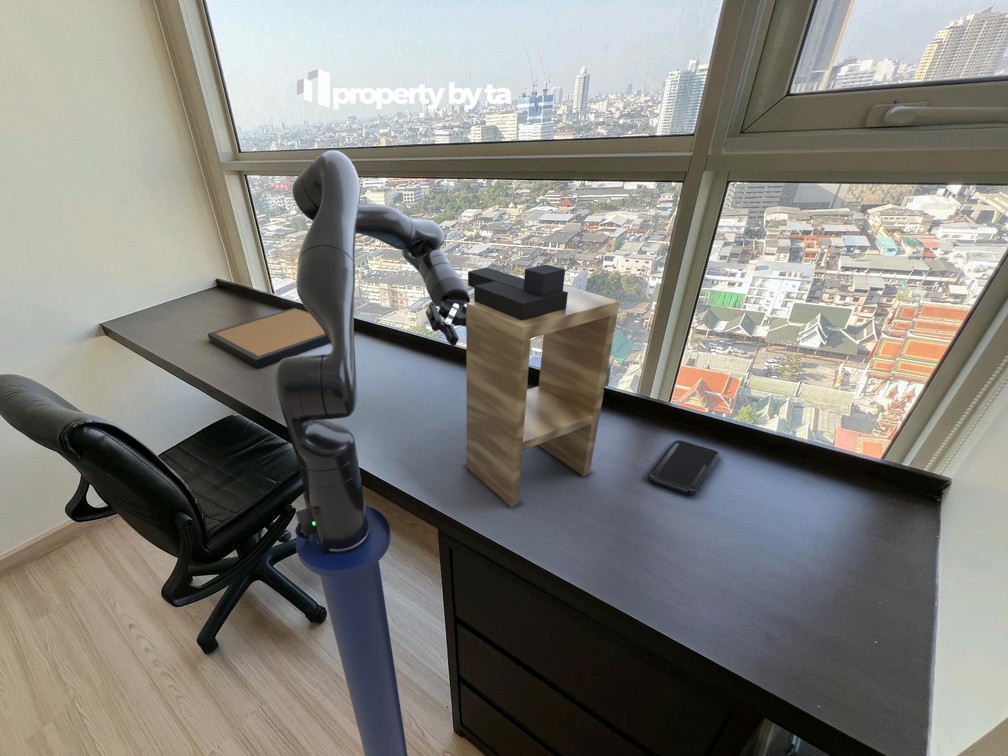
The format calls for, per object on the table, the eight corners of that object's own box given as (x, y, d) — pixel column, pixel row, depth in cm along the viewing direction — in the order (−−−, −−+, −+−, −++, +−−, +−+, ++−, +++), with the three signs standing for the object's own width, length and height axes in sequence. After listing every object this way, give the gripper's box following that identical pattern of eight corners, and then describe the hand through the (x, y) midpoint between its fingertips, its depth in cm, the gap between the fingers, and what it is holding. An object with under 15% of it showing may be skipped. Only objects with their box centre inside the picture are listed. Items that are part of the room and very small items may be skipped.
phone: (647, 475, 85) (676, 438, 94) (646, 480, 86) (675, 443, 95) (695, 492, 81) (721, 452, 89) (694, 497, 81) (719, 457, 90)
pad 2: (522, 320, 67) (523, 303, 66) (474, 301, 76) (474, 285, 75) (544, 315, 68) (546, 298, 67) (494, 296, 77) (495, 281, 76)
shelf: (511, 507, 83) (522, 327, 65) (466, 467, 93) (466, 302, 76) (589, 473, 89) (619, 300, 71) (539, 439, 100) (555, 282, 82)
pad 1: (544, 314, 69) (548, 275, 66) (467, 285, 84) (467, 252, 81) (566, 308, 70) (570, 270, 67) (486, 281, 85) (487, 249, 82)
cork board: (298, 314, 183) (209, 341, 164) (297, 306, 181) (207, 333, 162) (354, 334, 160) (258, 368, 141) (352, 326, 158) (255, 359, 140)
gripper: (467, 306, 110) (494, 357, 102) (411, 302, 104) (435, 356, 96) (481, 278, 104) (511, 330, 96) (423, 272, 98) (449, 327, 90)
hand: (473, 343), depth 96 cm, fingers open, 8 cm apart
